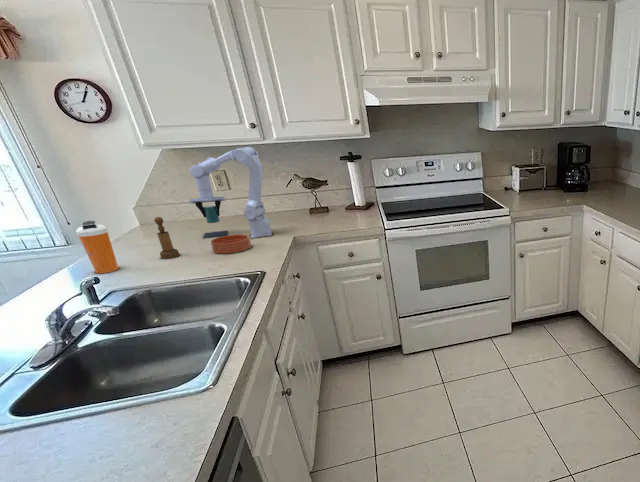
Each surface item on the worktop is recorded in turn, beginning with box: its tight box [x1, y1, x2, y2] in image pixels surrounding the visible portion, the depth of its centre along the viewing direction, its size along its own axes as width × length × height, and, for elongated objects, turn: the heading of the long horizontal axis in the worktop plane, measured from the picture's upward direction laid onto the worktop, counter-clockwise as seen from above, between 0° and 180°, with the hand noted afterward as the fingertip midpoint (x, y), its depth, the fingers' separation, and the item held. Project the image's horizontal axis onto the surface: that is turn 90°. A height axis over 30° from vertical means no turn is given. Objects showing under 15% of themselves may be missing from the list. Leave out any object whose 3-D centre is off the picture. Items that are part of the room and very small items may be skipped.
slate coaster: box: [203, 230, 228, 239], centre depth 217 cm, size 10×10×1 cm
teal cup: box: [203, 204, 221, 224], centre depth 210 cm, size 5×5×8 cm
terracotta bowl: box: [210, 234, 252, 254], centre depth 192 cm, size 15×15×5 cm
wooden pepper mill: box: [153, 216, 180, 260], centre depth 180 cm, size 7×6×18 cm
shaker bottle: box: [75, 220, 120, 274], centre depth 164 cm, size 9×9×20 cm
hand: (211, 216), depth 210 cm, fingers closed on teal cup, 5 cm apart
